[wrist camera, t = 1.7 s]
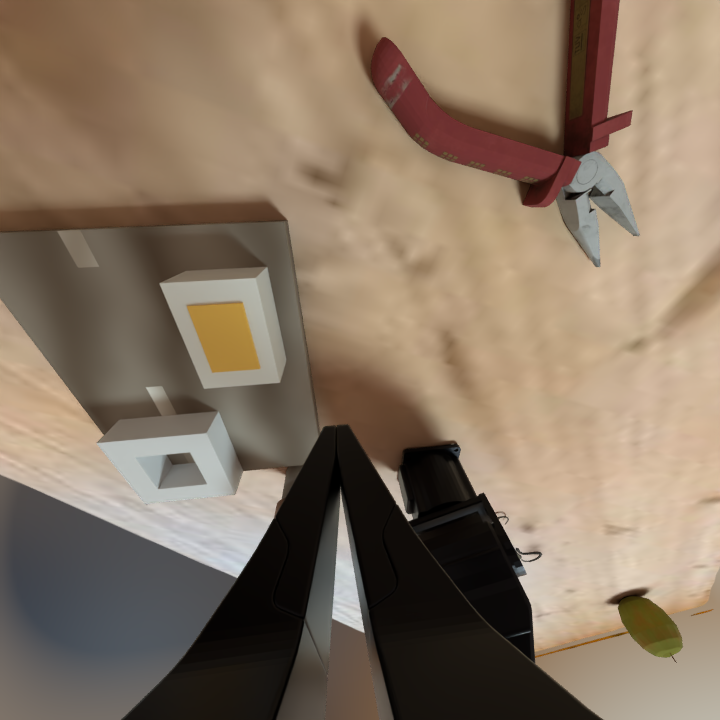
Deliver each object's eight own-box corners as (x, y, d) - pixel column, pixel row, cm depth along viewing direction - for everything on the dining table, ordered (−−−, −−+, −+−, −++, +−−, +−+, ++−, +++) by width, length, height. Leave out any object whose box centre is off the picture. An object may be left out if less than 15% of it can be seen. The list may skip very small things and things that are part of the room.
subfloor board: (287, 220, 17) (283, 221, 16) (323, 451, 28) (322, 463, 27) (-17, 232, 16) (-48, 235, 14) (148, 468, 27) (139, 481, 26)
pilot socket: (218, 411, 22) (206, 433, 20) (243, 471, 26) (235, 494, 24) (119, 419, 22) (96, 443, 20) (160, 479, 26) (144, 504, 24)
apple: (641, 601, 69) (690, 663, 60) (604, 608, 70) (647, 671, 60) (654, 587, 64) (710, 652, 55) (614, 595, 64) (663, 662, 55)
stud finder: (267, 266, 17) (254, 278, 14) (286, 360, 20) (279, 384, 18) (186, 270, 16) (157, 284, 14) (220, 365, 20) (203, 390, 17)
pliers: (537, 304, 22) (560, 315, 20) (357, 81, 14) (362, 58, 12) (680, 181, 18) (729, 178, 16) (543, -218, 10) (601, -334, 8)
